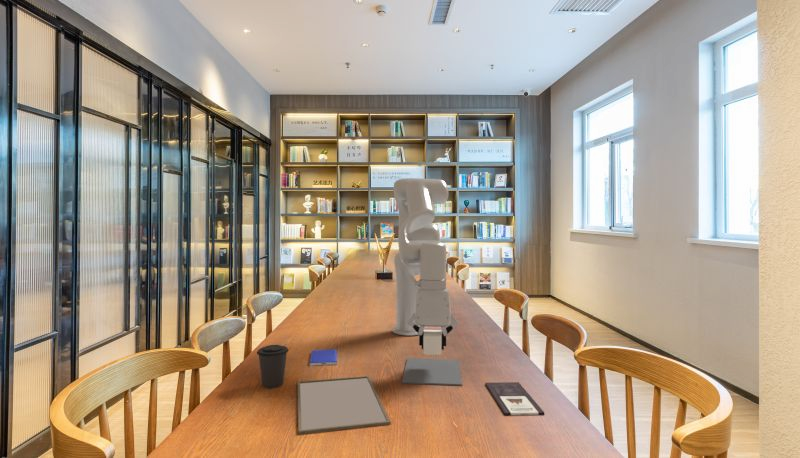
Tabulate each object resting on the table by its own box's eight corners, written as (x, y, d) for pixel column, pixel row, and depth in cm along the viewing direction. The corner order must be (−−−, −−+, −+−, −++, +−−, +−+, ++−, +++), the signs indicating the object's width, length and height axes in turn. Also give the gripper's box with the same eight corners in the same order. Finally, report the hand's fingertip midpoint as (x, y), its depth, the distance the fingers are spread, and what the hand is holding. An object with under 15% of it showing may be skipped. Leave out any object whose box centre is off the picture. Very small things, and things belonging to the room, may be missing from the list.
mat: (407, 359, 135) (407, 358, 135) (458, 360, 134) (458, 359, 134) (401, 383, 115) (401, 381, 115) (462, 385, 114) (462, 384, 114)
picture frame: (390, 426, 92) (368, 379, 120) (390, 421, 92) (368, 375, 120) (298, 436, 88) (297, 385, 115) (298, 431, 88) (297, 381, 115)
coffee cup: (261, 392, 109) (261, 353, 109) (253, 382, 116) (253, 345, 116) (292, 386, 113) (292, 348, 113) (283, 376, 120) (283, 340, 120)
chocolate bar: (518, 382, 115) (544, 412, 97) (518, 385, 115) (544, 416, 97) (485, 382, 115) (504, 413, 97) (485, 386, 115) (504, 417, 97)
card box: (441, 355, 119) (441, 336, 119) (423, 354, 120) (423, 336, 119) (441, 344, 129) (441, 327, 129) (424, 344, 129) (424, 327, 129)
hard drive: (311, 349, 141) (309, 362, 129) (336, 348, 143) (337, 361, 130) (311, 354, 141) (309, 367, 129) (336, 353, 143) (337, 366, 130)
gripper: (402, 286, 121) (402, 351, 121) (463, 287, 120) (463, 353, 120) (404, 283, 129) (404, 343, 129) (462, 283, 127) (461, 345, 127)
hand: (432, 347), depth 124 cm, fingers closed on card box, 5 cm apart
